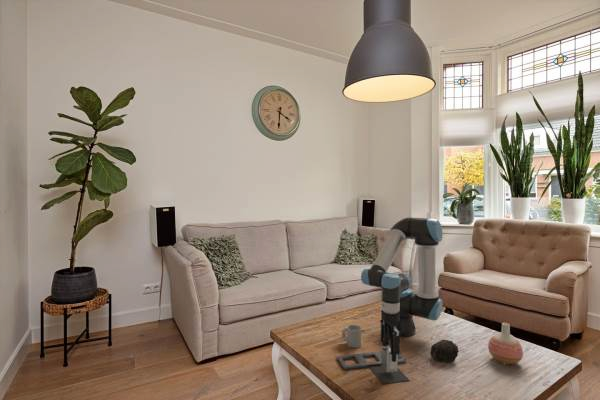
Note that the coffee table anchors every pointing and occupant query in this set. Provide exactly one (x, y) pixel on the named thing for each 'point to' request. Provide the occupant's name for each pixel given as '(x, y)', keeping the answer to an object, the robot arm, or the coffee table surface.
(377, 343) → the coffee table surface
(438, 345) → the rock
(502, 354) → the vase
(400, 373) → the rubber mat
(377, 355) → the rail
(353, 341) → the cup
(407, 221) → the robot arm
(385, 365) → the grey rectangular block
